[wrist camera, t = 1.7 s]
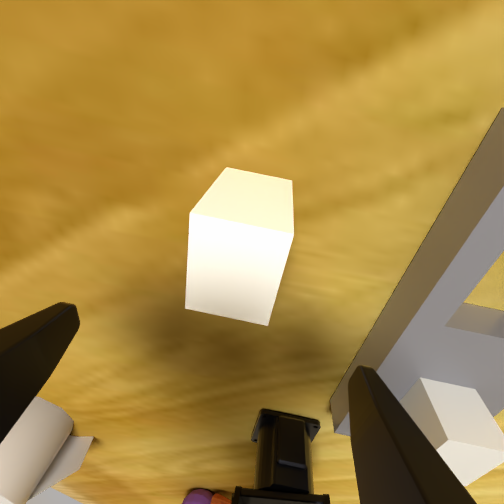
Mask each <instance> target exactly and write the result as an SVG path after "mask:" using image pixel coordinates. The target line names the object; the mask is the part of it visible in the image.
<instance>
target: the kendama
mask: <svg viewBox="0 0 504 504" xmlns="http://www.w3.org/2000/svg"><path fill="white" fill-rule="evenodd" d="M182 504H231V500H230V499H228V498H226V497H224V496H222V495H220V494H219V493H216V494H214V495H213V494H212V493H211V492H210V491H208V490H205V489H197V490H193V491H192V492H191V493H190V494H188V495H187V496H186V497H185V499H184V501H183V503H182Z"/></svg>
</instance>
